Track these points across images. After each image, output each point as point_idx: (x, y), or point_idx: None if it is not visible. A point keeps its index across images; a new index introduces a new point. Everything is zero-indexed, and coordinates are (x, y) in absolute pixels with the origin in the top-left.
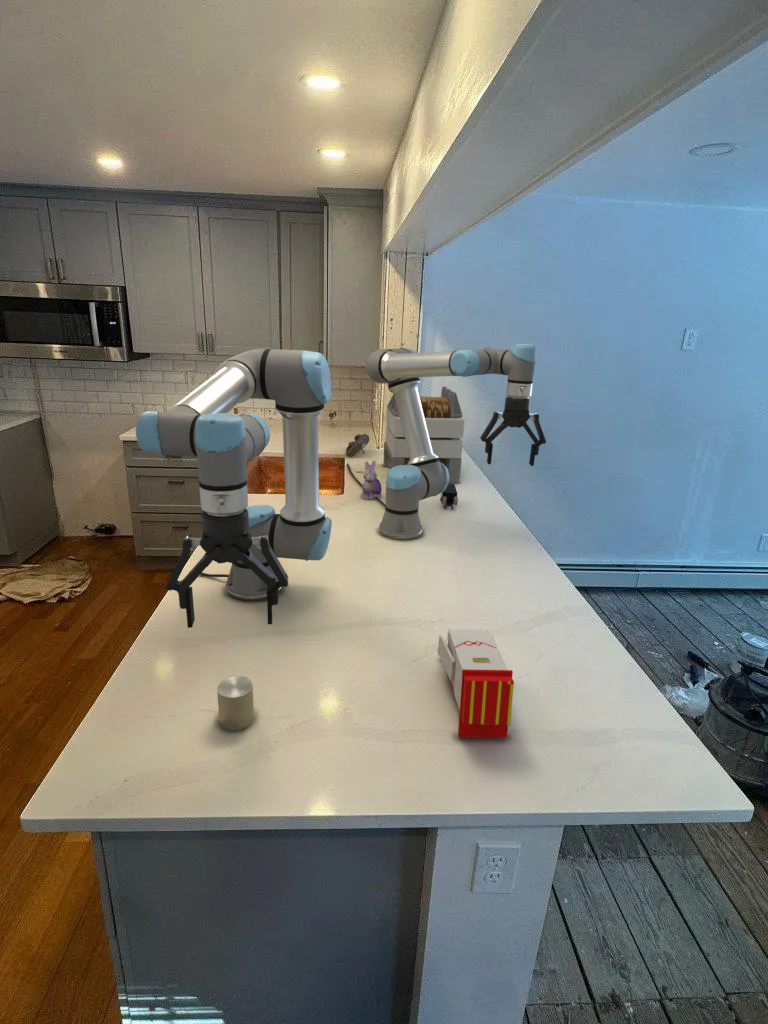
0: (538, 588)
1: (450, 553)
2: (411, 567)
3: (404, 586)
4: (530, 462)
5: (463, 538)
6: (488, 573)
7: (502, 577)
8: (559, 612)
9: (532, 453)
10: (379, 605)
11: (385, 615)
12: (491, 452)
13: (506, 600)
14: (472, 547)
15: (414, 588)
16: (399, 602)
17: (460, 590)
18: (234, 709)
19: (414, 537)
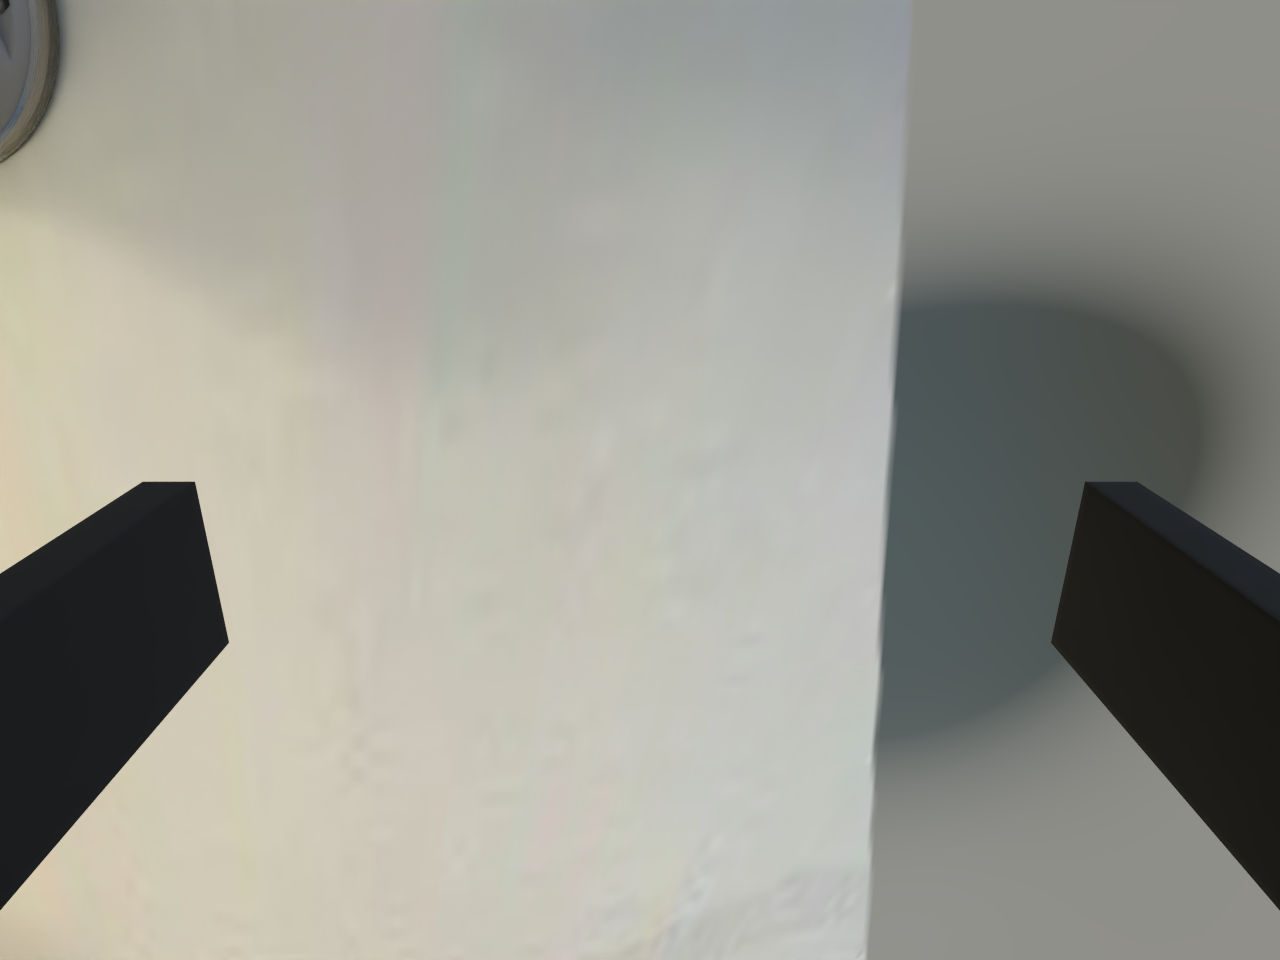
0: (735, 742)
1: (303, 374)
2: None
3: None
4: (1093, 594)
5: (397, 82)
6: (514, 615)
7: (581, 651)
8: (756, 908)
9: (1226, 807)
10: (33, 901)
11: (75, 956)
12: (51, 831)
13: (558, 842)
14: (454, 259)
15: (149, 776)
16: (107, 878)
17: (361, 779)
18: None
19: (13, 144)
